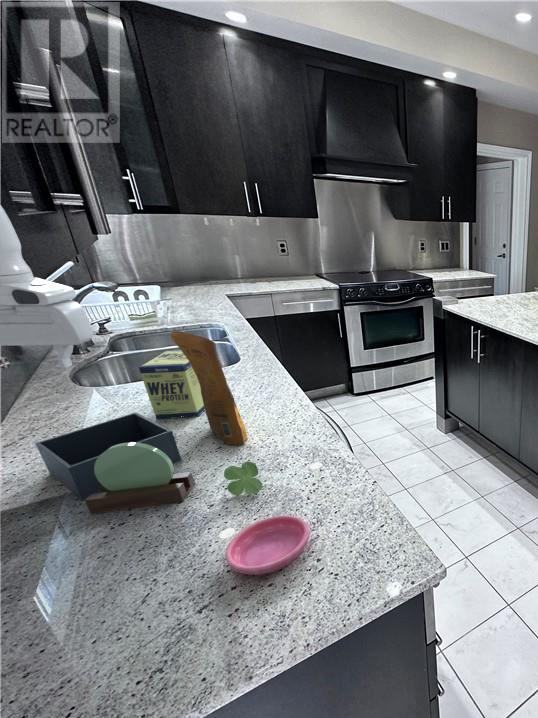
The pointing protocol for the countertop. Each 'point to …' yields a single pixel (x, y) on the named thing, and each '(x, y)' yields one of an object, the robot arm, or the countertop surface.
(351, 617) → the countertop surface
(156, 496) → the plate stand
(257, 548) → the saucer
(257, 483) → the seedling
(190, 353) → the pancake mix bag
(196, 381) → the protein box
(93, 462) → the tub
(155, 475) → the plate
